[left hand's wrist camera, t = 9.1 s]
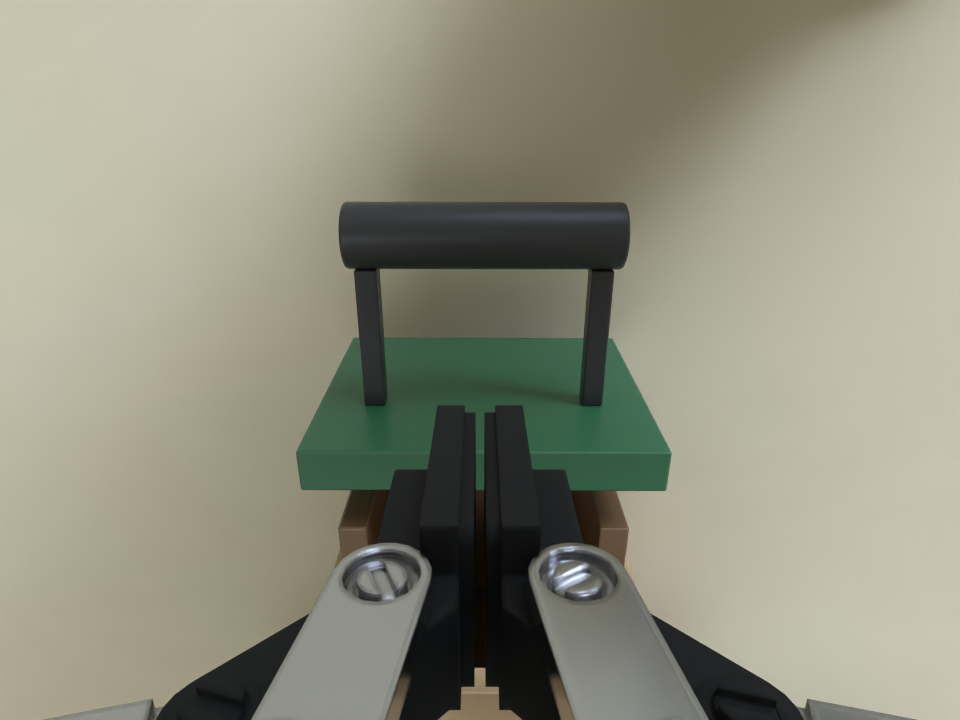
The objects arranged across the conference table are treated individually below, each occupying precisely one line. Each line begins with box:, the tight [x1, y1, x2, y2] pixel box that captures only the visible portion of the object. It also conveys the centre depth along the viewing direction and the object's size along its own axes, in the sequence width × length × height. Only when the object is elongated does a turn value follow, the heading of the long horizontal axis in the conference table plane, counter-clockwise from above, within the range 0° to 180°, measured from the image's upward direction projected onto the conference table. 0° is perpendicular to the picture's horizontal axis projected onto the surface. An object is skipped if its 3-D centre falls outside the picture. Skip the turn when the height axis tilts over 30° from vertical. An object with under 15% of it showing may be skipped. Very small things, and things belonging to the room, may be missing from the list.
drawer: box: [296, 202, 672, 668], centre depth 21 cm, size 18×10×8 cm, turn 0°
